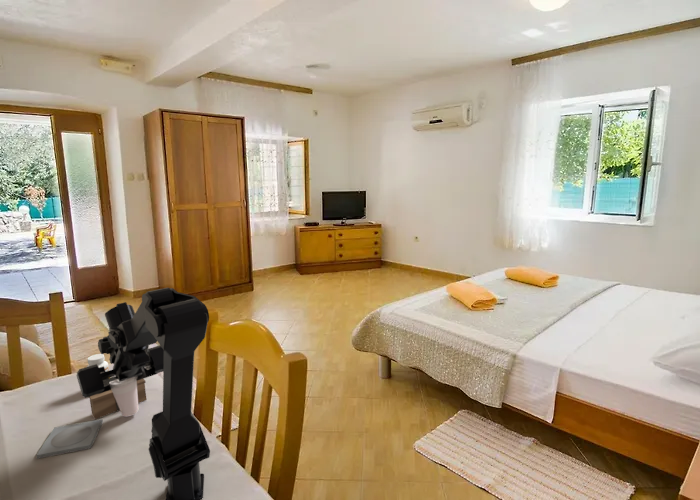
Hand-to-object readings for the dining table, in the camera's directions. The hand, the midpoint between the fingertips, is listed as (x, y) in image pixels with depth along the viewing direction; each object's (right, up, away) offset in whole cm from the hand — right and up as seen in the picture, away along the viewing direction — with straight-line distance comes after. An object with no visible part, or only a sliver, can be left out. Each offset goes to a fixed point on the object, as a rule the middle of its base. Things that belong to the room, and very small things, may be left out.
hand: (121, 383), depth 99 cm
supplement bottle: (-14, -6, +14) cm, 21 cm away
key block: (-3, -8, +5) cm, 10 cm away
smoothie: (+2, -7, +1) cm, 8 cm away
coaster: (-7, -10, -8) cm, 14 cm away
